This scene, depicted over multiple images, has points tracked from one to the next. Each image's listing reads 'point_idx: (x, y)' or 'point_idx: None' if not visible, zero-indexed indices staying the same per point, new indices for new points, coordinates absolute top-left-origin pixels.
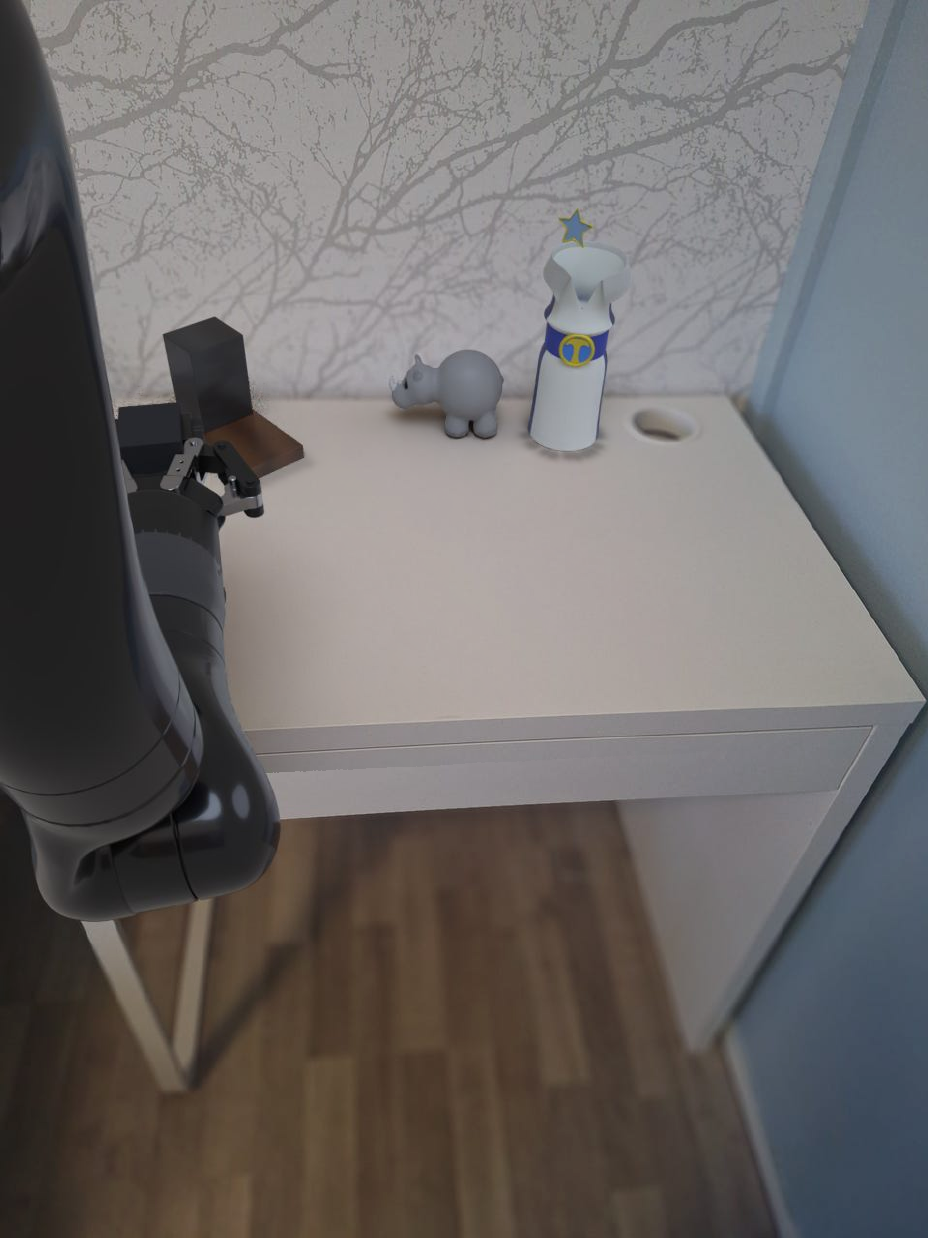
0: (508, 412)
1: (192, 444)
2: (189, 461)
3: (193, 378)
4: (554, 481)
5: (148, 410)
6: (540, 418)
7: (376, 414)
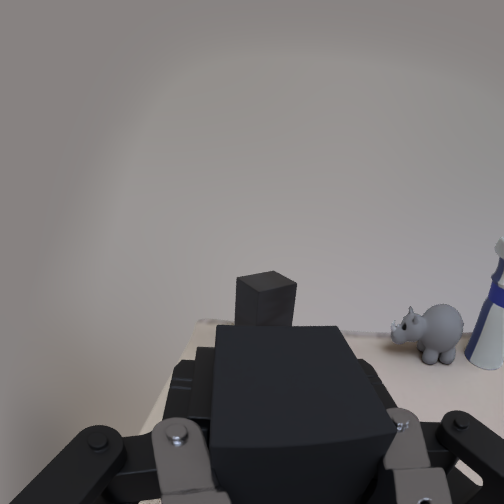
0: None
1: (399, 428)
2: (446, 498)
3: (256, 311)
4: (498, 391)
5: (281, 338)
6: (482, 349)
7: (372, 347)
